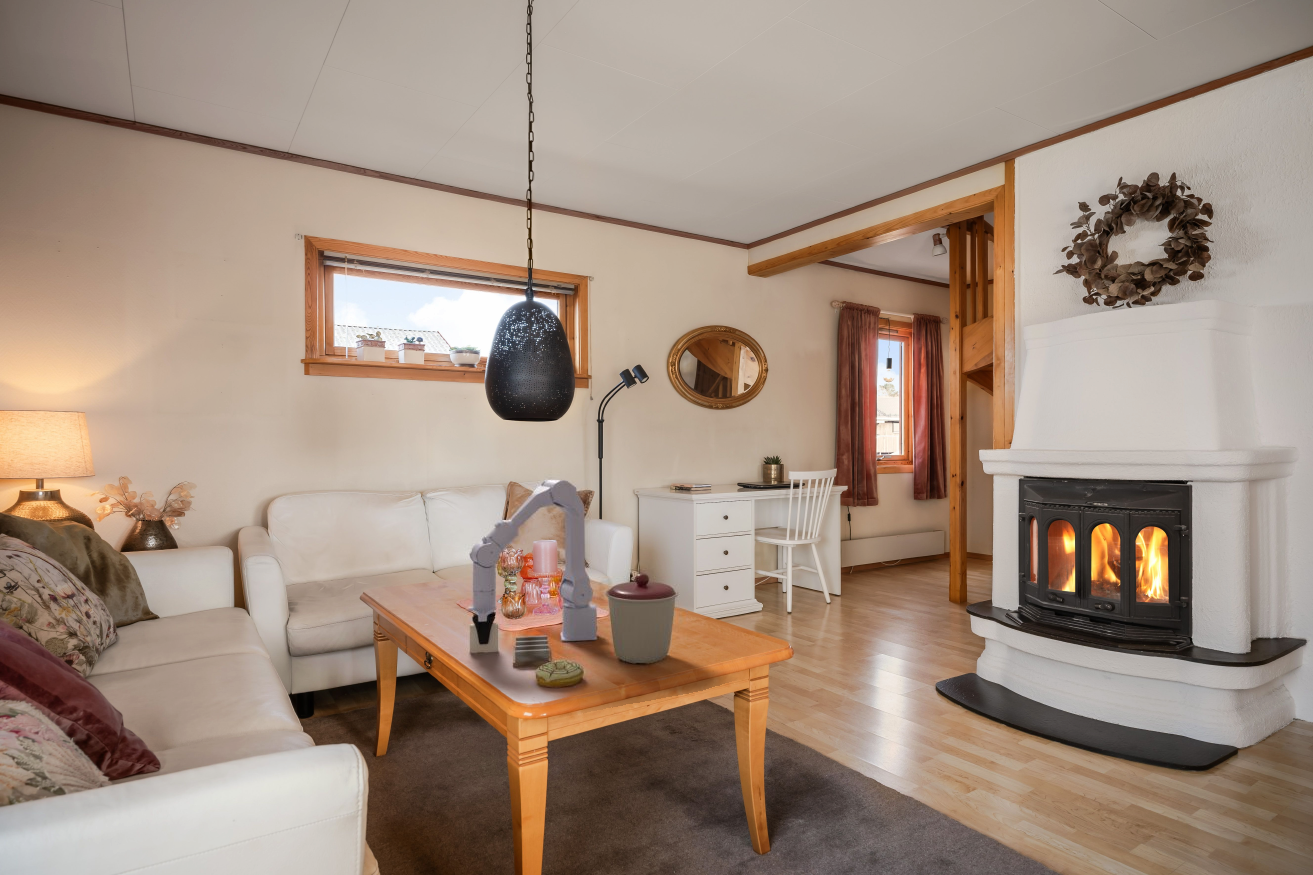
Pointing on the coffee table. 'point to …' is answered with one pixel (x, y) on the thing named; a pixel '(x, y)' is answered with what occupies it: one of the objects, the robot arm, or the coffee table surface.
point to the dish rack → (531, 651)
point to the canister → (641, 619)
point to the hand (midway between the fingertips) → (484, 642)
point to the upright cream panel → (489, 647)
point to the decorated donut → (559, 673)
